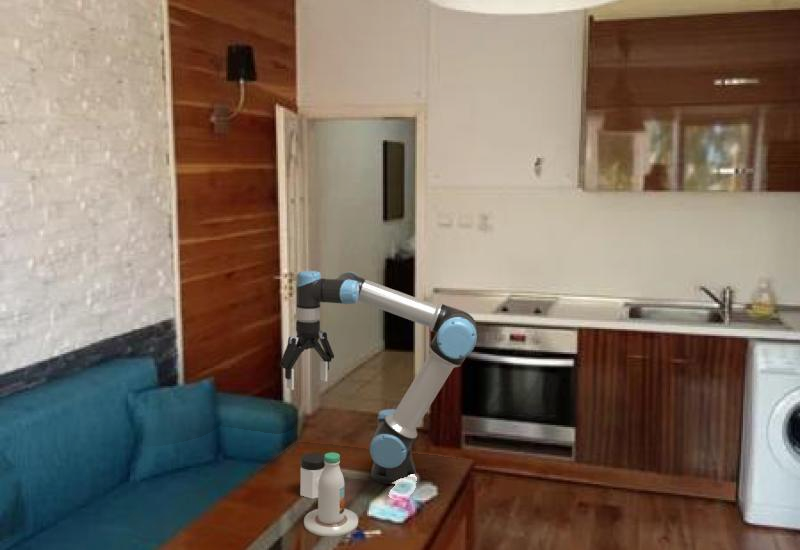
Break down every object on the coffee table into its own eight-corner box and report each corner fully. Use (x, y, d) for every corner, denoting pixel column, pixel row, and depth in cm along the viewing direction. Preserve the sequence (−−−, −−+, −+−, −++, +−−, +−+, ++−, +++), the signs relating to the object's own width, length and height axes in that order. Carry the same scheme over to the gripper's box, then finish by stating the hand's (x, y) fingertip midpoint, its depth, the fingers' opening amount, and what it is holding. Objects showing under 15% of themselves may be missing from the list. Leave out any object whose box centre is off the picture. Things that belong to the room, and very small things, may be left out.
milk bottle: (333, 527, 222) (334, 462, 218) (312, 520, 226) (313, 456, 222) (349, 517, 228) (350, 453, 225) (328, 510, 232) (329, 447, 229)
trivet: (354, 509, 236) (354, 505, 236) (361, 534, 221) (361, 530, 220) (302, 512, 233) (302, 508, 233) (305, 538, 218) (305, 533, 218)
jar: (306, 501, 241) (306, 464, 239) (294, 491, 247) (295, 455, 246) (331, 494, 246) (332, 459, 244) (319, 485, 252) (320, 450, 251)
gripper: (330, 312, 254) (329, 374, 257) (268, 323, 236) (268, 389, 239) (345, 316, 248) (344, 379, 252) (283, 327, 231) (282, 395, 234)
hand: (307, 384), depth 246 cm, fingers open, 13 cm apart
